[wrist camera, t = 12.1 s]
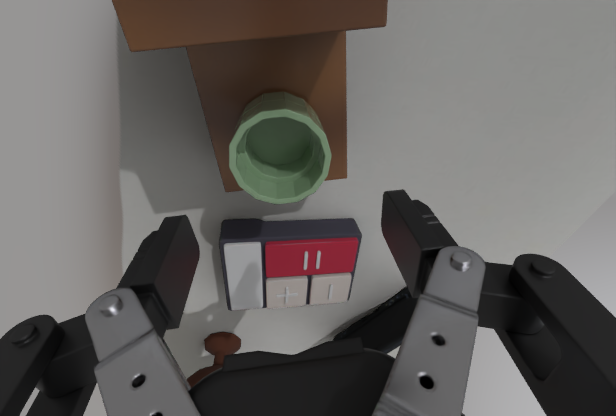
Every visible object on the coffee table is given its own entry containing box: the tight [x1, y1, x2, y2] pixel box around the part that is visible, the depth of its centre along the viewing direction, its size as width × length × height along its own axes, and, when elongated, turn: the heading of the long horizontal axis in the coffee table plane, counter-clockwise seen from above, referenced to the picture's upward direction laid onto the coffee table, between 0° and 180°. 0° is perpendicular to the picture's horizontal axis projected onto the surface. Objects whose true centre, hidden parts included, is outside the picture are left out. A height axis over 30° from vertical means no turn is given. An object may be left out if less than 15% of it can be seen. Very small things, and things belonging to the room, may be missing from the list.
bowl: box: [229, 91, 332, 204], centre depth 20 cm, size 6×6×5 cm
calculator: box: [219, 218, 362, 310], centre depth 35 cm, size 11×4×15 cm
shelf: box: [112, 0, 388, 192], centre depth 19 cm, size 16×10×14 cm, turn 5°
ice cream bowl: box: [187, 332, 241, 388], centre depth 39 cm, size 11×11×15 cm
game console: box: [333, 287, 419, 354], centre depth 42 cm, size 16×14×9 cm
